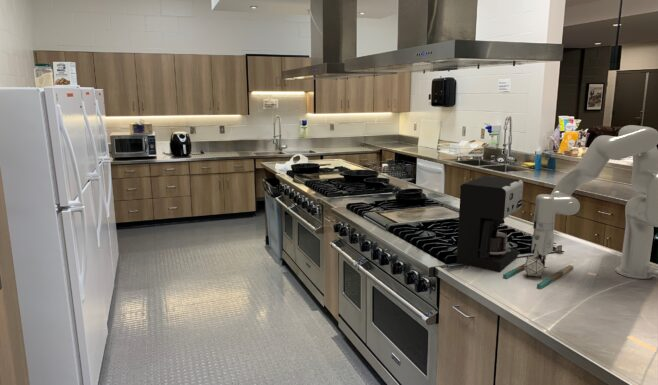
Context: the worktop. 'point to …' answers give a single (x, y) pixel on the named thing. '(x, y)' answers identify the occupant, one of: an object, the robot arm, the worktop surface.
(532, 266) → the game die
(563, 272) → the pair of wooden rods
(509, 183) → the coffee maker
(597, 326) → the worktop surface
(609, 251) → the worktop surface
